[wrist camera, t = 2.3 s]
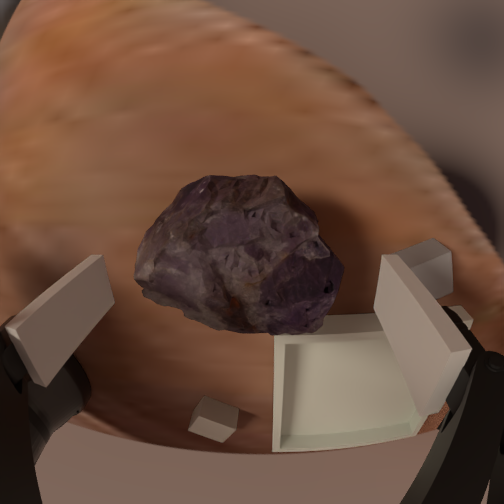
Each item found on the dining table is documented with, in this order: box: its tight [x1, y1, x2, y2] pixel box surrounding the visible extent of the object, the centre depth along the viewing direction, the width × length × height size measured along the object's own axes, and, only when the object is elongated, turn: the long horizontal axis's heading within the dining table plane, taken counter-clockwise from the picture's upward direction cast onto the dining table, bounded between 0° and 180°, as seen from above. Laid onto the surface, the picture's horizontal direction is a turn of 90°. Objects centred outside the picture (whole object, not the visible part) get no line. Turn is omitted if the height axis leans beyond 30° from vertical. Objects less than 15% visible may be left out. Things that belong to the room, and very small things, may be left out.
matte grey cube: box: [188, 395, 239, 443], centre depth 27 cm, size 4×4×3 cm
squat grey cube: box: [390, 238, 453, 300], centre depth 19 cm, size 4×4×3 cm
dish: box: [272, 305, 473, 452], centre depth 24 cm, size 18×18×2 cm
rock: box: [134, 175, 344, 335], centre depth 17 cm, size 12×9×10 cm
